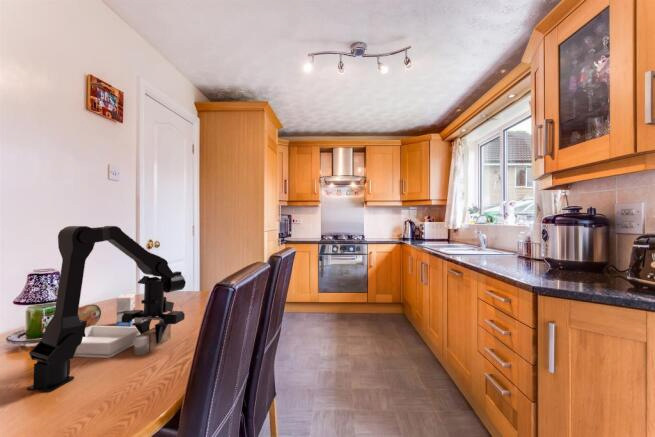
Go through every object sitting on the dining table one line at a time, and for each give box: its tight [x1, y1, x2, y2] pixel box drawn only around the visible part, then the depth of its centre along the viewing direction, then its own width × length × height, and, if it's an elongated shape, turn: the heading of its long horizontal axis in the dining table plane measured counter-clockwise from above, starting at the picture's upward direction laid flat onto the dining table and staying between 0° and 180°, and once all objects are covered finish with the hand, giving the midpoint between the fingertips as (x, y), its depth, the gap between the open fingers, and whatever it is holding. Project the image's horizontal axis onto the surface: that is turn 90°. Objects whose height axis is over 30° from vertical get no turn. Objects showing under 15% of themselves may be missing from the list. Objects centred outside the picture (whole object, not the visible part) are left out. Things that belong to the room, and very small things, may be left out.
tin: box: [78, 304, 102, 328], centre depth 118 cm, size 15×3×8 cm, turn 168°
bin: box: [73, 325, 140, 359], centre depth 101 cm, size 16×20×4 cm
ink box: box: [116, 293, 136, 327], centre depth 123 cm, size 9×5×12 cm, turn 22°
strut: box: [133, 324, 172, 356], centre depth 101 cm, size 14×4×5 cm, turn 176°
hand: (152, 342), depth 101 cm, fingers closed on strut, 4 cm apart
